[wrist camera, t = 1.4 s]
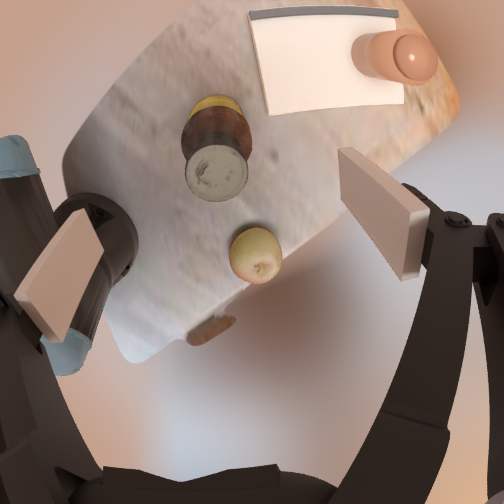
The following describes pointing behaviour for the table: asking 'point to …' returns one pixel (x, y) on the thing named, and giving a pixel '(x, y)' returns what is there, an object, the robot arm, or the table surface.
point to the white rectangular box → (318, 57)
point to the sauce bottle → (216, 149)
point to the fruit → (255, 256)
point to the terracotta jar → (395, 56)
